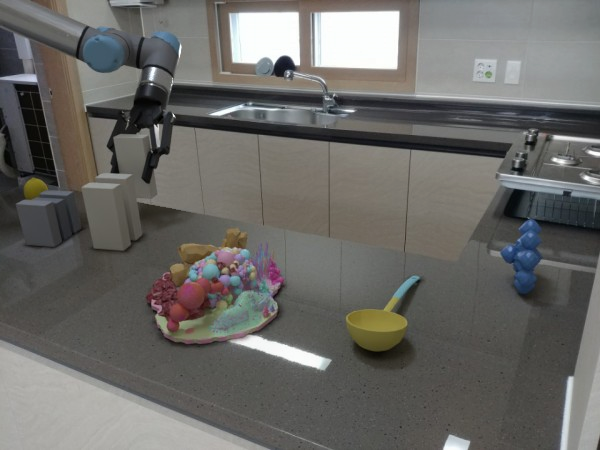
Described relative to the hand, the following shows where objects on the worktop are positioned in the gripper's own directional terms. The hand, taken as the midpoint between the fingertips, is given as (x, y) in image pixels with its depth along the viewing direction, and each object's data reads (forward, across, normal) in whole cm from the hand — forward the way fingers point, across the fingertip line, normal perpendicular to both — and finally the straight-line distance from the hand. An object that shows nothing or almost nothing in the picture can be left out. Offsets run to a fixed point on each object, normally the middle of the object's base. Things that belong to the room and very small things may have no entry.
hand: (129, 180), depth 118 cm
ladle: (+27, -60, +11) cm, 66 cm away
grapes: (+18, -80, +1) cm, 82 cm away
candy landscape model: (+27, -30, +11) cm, 41 cm away
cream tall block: (+1, 0, -6) cm, 6 cm away
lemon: (+3, +31, -13) cm, 34 cm away
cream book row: (+14, 0, -2) cm, 14 cm away
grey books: (+13, +16, -2) cm, 21 cm away
